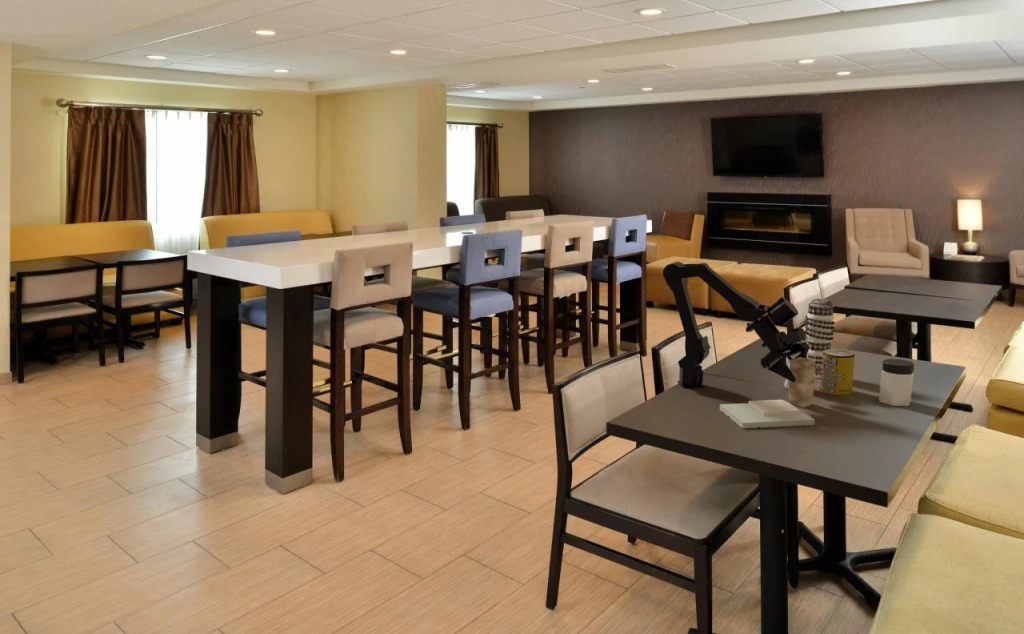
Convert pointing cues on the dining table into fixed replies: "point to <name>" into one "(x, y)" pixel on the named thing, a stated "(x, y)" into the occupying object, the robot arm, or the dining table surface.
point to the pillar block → (802, 382)
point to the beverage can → (837, 371)
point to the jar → (896, 382)
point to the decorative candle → (819, 330)
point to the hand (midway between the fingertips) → (802, 378)
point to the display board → (766, 414)
